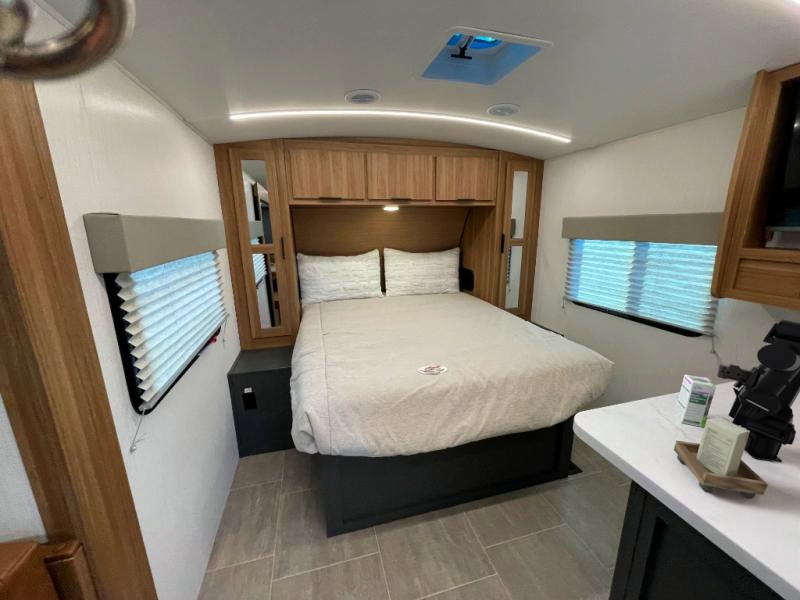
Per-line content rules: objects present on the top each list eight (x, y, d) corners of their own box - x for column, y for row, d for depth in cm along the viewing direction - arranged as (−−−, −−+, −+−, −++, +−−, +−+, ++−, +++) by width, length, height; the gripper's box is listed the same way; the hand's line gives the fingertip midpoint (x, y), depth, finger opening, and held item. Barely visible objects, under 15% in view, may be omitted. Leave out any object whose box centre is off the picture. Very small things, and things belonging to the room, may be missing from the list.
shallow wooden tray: (722, 465, 83) (728, 448, 81) (760, 503, 72) (767, 484, 71) (671, 457, 85) (676, 440, 84) (700, 493, 74) (706, 474, 73)
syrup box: (680, 423, 100) (693, 382, 96) (673, 412, 105) (684, 373, 101) (704, 428, 98) (717, 386, 94) (695, 417, 103) (707, 376, 99)
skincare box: (736, 475, 76) (752, 432, 72) (724, 480, 74) (740, 435, 71) (704, 456, 81) (718, 415, 78) (693, 460, 80) (706, 418, 77)
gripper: (730, 349, 89) (694, 394, 93) (737, 354, 75) (694, 406, 79) (785, 374, 82) (743, 421, 86) (804, 384, 68) (753, 439, 72)
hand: (732, 420), depth 81 cm, fingers open, 9 cm apart
